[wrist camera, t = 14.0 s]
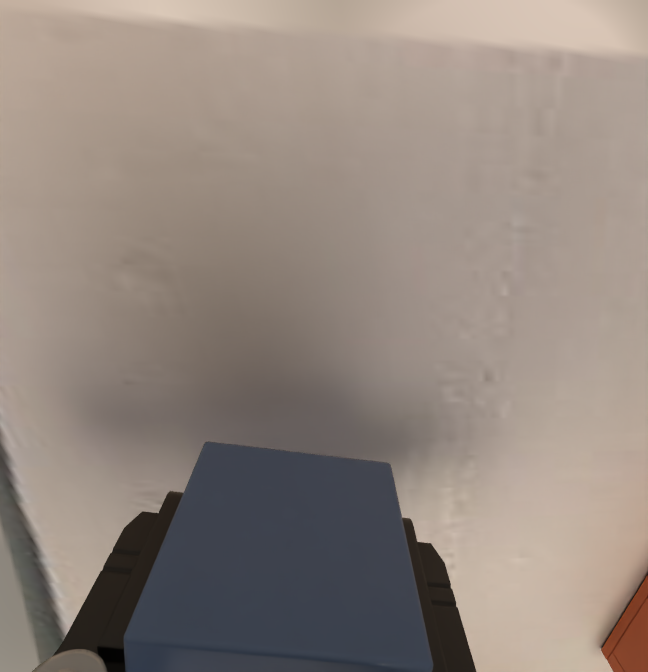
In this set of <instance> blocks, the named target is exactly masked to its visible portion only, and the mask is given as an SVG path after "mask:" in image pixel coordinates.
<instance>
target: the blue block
mask: <svg viewBox="0 0 648 672" xmlns="http://www.w3.org/2000/svg"><path fill="white" fill-rule="evenodd" d="M124 655H125V671H126V672H432V670H433V661H432V656H431V652H430V647H429V642H428V637H427V633H426V628H425V623H424V619H423V614H422V609H421V605H420V600H419V595H418V590H417V586H416V581H415V576H414V572H413V567H412V562H411V558H410V553H409V548H408V544H407V539H406V534H405V529H404V525H403V520H402V515H401V511H400V506H399V501H398V497H397V492H396V487H395V482H394V478H393V473H392V468H391V465H390V464H389V463H385V462H376V461H368V460H360V459H351V458H343V457H334V456H326V455H318V454H309V453H301V452H292V451H284V450H275V449H267V448H259V447H250V446H242V445H233V444H225V443H216V442H205V444H204V445H203V448H202V450H201V452H200V455H199V457H198V460H197V462H196V464H195V467H194V469H193V472H192V474H191V476H190V479H189V481H188V484H187V486H186V488H185V491H184V493H183V496H182V498H181V500H180V503H179V505H178V508H177V510H176V512H175V515H174V517H173V519H172V522H171V524H170V527H169V529H168V531H167V534H166V536H165V539H164V541H163V543H162V546H161V548H160V551H159V553H158V555H157V558H156V560H155V563H154V565H153V567H152V570H151V572H150V575H149V577H148V579H147V582H146V584H145V586H144V589H143V591H142V594H141V596H140V598H139V601H138V603H137V606H136V608H135V610H134V613H133V615H132V618H131V620H130V622H129V625H128V627H127V630H126V632H125V634H124Z"/></svg>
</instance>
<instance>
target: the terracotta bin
mask: <svg viewBox="0 0 648 672" xmlns="http://www.w3.org/2000/svg"><path fill="white" fill-rule="evenodd" d="M601 651H602V653H603V654H604V656H605V658H606V659H607V660H608V663H609V664H610V666H611V668H612V670H613V671H614V672H648V575H647V577H646V578H645V580H644V582H643V583H642V585H641V586H640V588H639V590H638V591H637V593H636V595H635V596H634V598H633V599H632V601H631V603H630V604H629V606H628V607H627V609H626V611H625V612H624V614H623V615H622V617H621V619H620V620H619V622H618V624H617V625H616V627H615V628H614V630H613V632H612V633H611V635H610V636H609V638H608V640H607V641H606V643H605V644H604V646H603V648H602V649H601Z"/></svg>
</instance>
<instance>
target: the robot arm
mask: <svg viewBox="0 0 648 672" xmlns="http://www.w3.org/2000/svg"><path fill="white" fill-rule="evenodd" d="M182 496H183V493H182V492H173V491H170V492H169V493H168V494H167V496H166V498H165V500H164V502H163V504H162V507H161V509H160V511H159V513H151V512H141V513H140V514H139V515H138V516H137V517H136V518H135V519H134V520H132V521H131V522H130V523H129V524H128V525H127V526H126V527H125V528H124V529H123V531H122V533H121V535H120V537H119V538H118V540H117V542H116V544H115V546H114V548H113V551H112V553H110V555H109V557H108V559H107V561H106V563H105V565H104V567H103V570H102V571H101V572H100V574H99V576H98V578H97V579H96V581H95V583H94V585H93V587H92V589H91V591H90V593H89V594H88V596H87V598H86V600H85V602H84V604H83V606H82V607H81V609H80V611H79V613H78V615H77V617H76V619H75V620H74V622H73V624H72V626H71V628H70V630H69V632H68V634H67V635H66V637H65V639H64V641H63V642H62V644H61V646H60V647H59V649H58V650H57V651H56V652H55V654H54V655H53V656H52V657H51V658H49V659H47V660H46V661H44V662H43V663H42V664H40V665H39V666H38V667H37V668H35V670H33V671H32V672H126V671H125V655H124V634H125V632H126V630H127V627H128V625H129V622H130V620H131V618H132V615H133V613H134V610H135V608H136V606H137V603H138V601H139V598H140V596H141V594H142V591H143V589H144V586H145V584H146V582H147V579H148V577H149V575H150V572H151V570H152V567H153V565H154V563H155V560H156V558H157V555H158V553H159V551H160V548H161V546H162V543H163V541H164V539H165V536H166V534H167V531H168V529H169V527H170V524H171V522H172V519H173V517H174V515H175V512H176V510H177V508H178V505H179V503H180V500H181V498H182ZM402 520H403V525H404V529H405V534H406V539H407V544H408V548H409V553H410V558H411V562H412V567H413V572H414V576H415V581H416V586H417V590H418V595H419V600H420V605H421V609H422V614H423V619H424V623H425V628H426V633H427V637H428V642H429V647H430V652H431V656H432V661H433V670H432V672H476V669H475V666H474V662H473V659H472V655H471V652H470V649H469V645H468V642H467V638H466V635H465V632H464V628H463V625H462V621H461V618H460V614H459V611H458V608H457V607H456V601H455V597H454V594H453V591H452V589H451V584H450V580H449V577H448V574H447V570H446V567H445V563H444V562H443V560H442V559H441V557H440V556H439V554H438V553H437V552H436V550H435V549H434V547H433V546H432V545H431V543H422V542H417V539H416V535H415V531H414V526H413V523H412V521H411V519H410V518H402Z"/></svg>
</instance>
